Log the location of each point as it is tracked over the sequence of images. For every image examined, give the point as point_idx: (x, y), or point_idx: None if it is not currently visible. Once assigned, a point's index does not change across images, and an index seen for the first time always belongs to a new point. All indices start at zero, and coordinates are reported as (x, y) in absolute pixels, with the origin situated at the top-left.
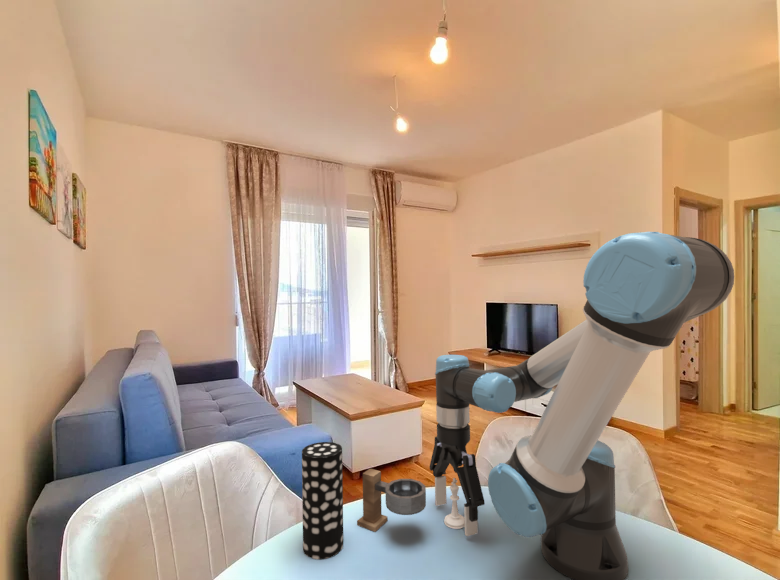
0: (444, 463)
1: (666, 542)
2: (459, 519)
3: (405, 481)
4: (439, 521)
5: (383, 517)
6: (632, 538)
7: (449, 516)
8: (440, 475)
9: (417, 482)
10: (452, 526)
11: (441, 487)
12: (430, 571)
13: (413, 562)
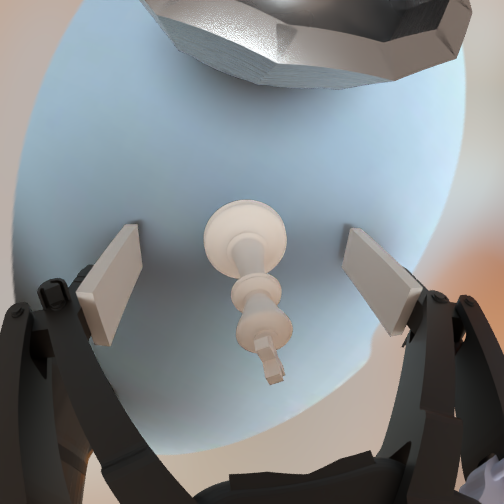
0: (409, 402)
1: None
2: (226, 255)
3: (440, 11)
4: (280, 190)
5: None
6: None
7: (263, 232)
8: (412, 319)
9: (382, 45)
10: (219, 214)
11: (377, 285)
12: (62, 48)
13: (116, 9)
